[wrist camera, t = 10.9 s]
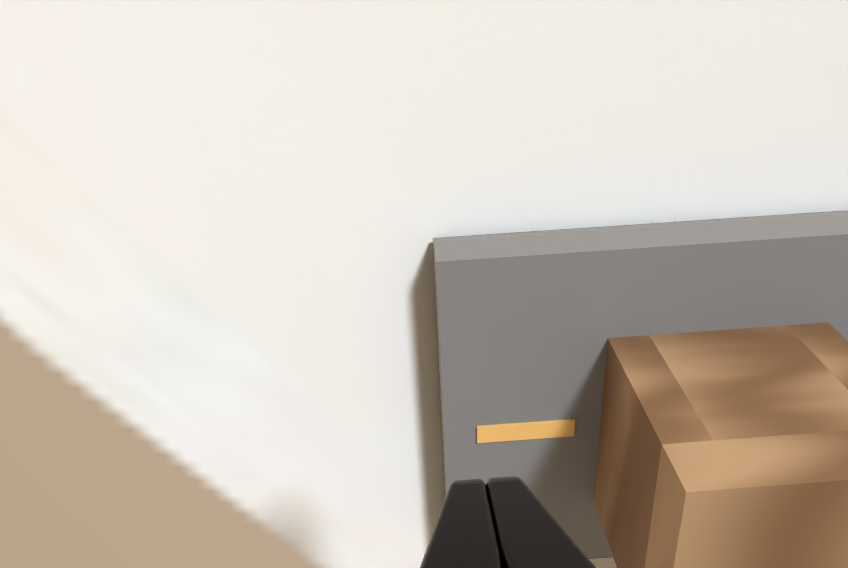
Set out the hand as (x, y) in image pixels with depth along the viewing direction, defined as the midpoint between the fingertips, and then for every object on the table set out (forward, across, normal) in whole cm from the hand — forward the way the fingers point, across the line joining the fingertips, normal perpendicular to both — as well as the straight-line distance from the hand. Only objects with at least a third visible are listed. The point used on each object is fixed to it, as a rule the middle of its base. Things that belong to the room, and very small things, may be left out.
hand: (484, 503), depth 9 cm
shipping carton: (+10, -8, +8) cm, 15 cm away
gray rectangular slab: (+12, -8, +8) cm, 16 cm away
